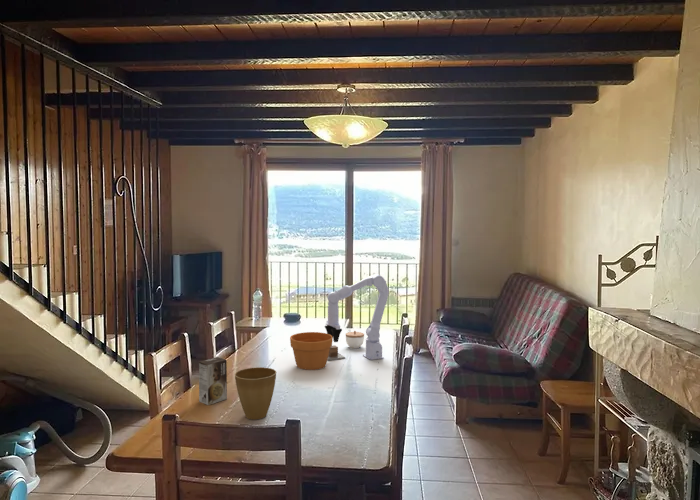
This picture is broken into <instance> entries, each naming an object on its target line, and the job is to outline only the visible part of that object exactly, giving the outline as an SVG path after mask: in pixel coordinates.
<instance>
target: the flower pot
mask: <svg viewBox="0 0 700 500" xmlns="http://www.w3.org/2000/svg"><path fill="white" fill-rule="evenodd" d="M289 341H290V342H289V343H290V347H291V348H292V351H293V355H294V361H295V364H296V367H297V368H299V369H301V370H306V371H315V370H317V371H318V370H322V369H323V368H325V367H326V366H327V363H328V362H327V359H328V355H329V350H330V347H331V346H333V337H332V335H330V334H327V332H326V333H325V332H319V331H307V332H298V333H295V334H294V333H293V334H292V335H291V336H290V337H289Z"/></svg>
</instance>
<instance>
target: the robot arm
mask: <svg viewBox="0 0 700 500" xmlns="http://www.w3.org/2000/svg"><path fill="white" fill-rule="evenodd" d="M367 286H368V287H373V286H374V287H375V288H376V290H377V291H378V298H377V301H376V304H375V308H374V311H373V314H372V319H371V321H370V322H369V325H368V327H367V328H366V330H365V334H366V336H367V338H366V339H365V353H364V354H362V356H363V357H364V358H367V359H368V360H371V361H372V360H378V359H379V360H380V359H381V360H382V359H384V357H383V346H382V344H381V342H380V330H381V323H382V319H383V315H384V313H385V308H386V305H387V301H388V297H389V294H390V291H389V287H388V284H387V281H386V279H385V277H383V276H382V275H381V274H378V273H375V274H372V275H369V276H367V277H365V278H363V279H361V280H359V281H357V282H355V283H354V284H352V285H345V284H344V285H342V287H341V288H338V289H337V290H336V289H334V291H332V292H331V291H330V292H329V293H328V295H327V300H328V302H327V305H328V306H327V320H326V323H325V325H324V328H325V331H326V334H330V335H332V337H333V340H332V342H333V343H338V342H339V338H340V336H341V333H342V331H343V329H342V328H341V325H340V323H339V318H340V316H339V314H340V312H339V311H340V310H339V302H340V301H342V300H344V299H346V298H349V297H350V296H352V294H353V292H355V291H358V290H360V289H361V288H364V287H367Z"/></svg>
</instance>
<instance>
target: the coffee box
mask: <svg viewBox="0 0 700 500" xmlns="http://www.w3.org/2000/svg"><path fill="white" fill-rule="evenodd" d="M227 363H228V362H227V359H224V358H222V357H220V356H216V357H213V358H208V359H204V360H200V361H198V402H199V403H202V404H204V405H206V406H210V405H213V404H216V403H219V402H221V401H225V400H227V399H228V372H227V370H228V368H227V367H228V366H227Z"/></svg>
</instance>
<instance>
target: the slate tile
mask: <svg viewBox="0 0 700 500" xmlns="http://www.w3.org/2000/svg"><path fill="white" fill-rule="evenodd" d="M336 360H346V356H345V355H342V354H341V353H340V352H338V356H337V357H330V356H328V359H327V361H336Z"/></svg>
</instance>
